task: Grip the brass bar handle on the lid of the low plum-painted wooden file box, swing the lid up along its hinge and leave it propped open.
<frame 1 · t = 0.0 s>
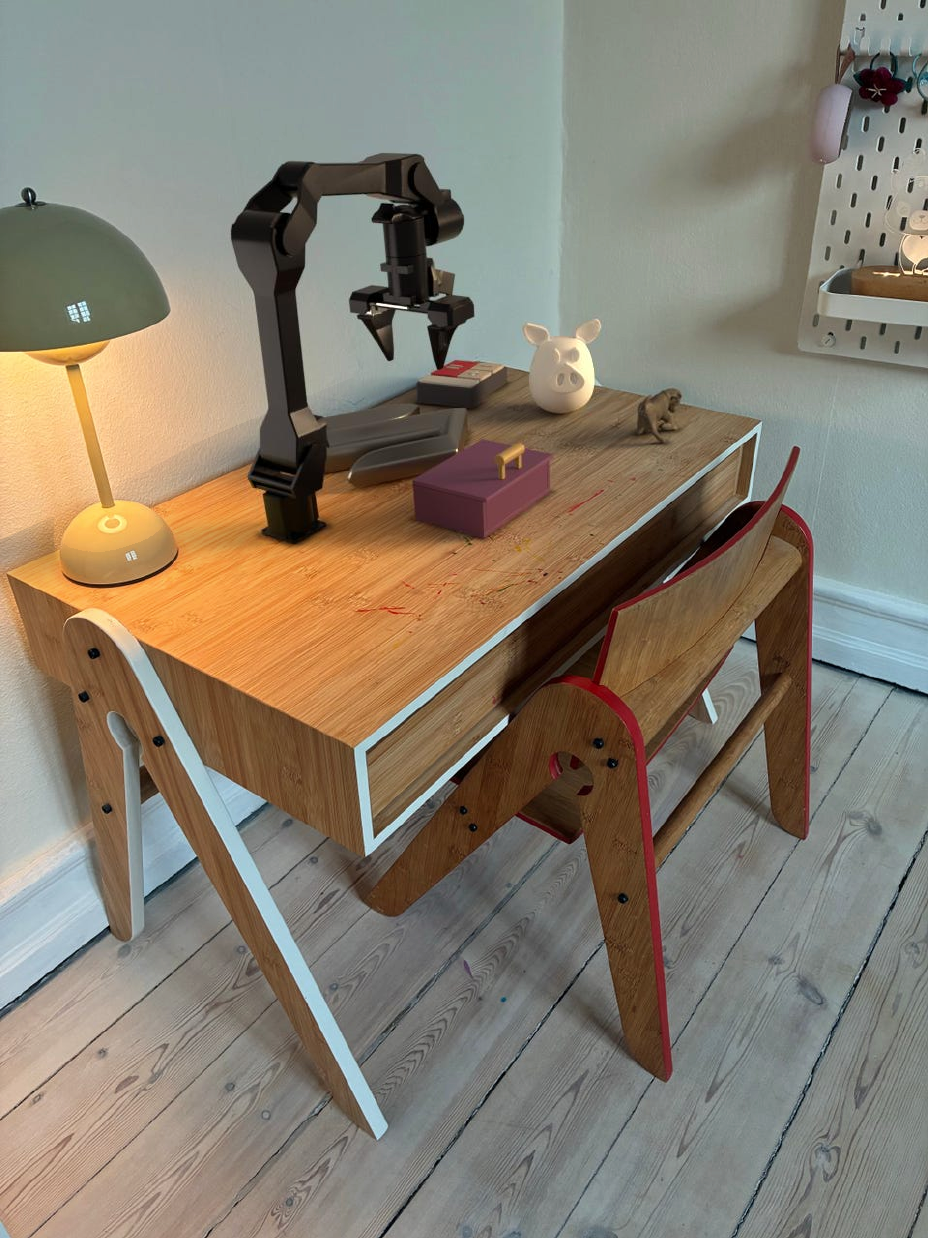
hand: (415, 364, 142), 15 cm above the table, tool pointing down, fingers open, 9 cm apart
brown monkey figurine: (658, 432, 154), on the table
emblem: (387, 455, 152), on the table
piggy bank: (564, 412, 164), on the table
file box: (484, 505, 134), on the table
file box lid: (483, 456, 130), point 7 cm above the table, hinge at 0.0°
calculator: (463, 393, 174), on the table
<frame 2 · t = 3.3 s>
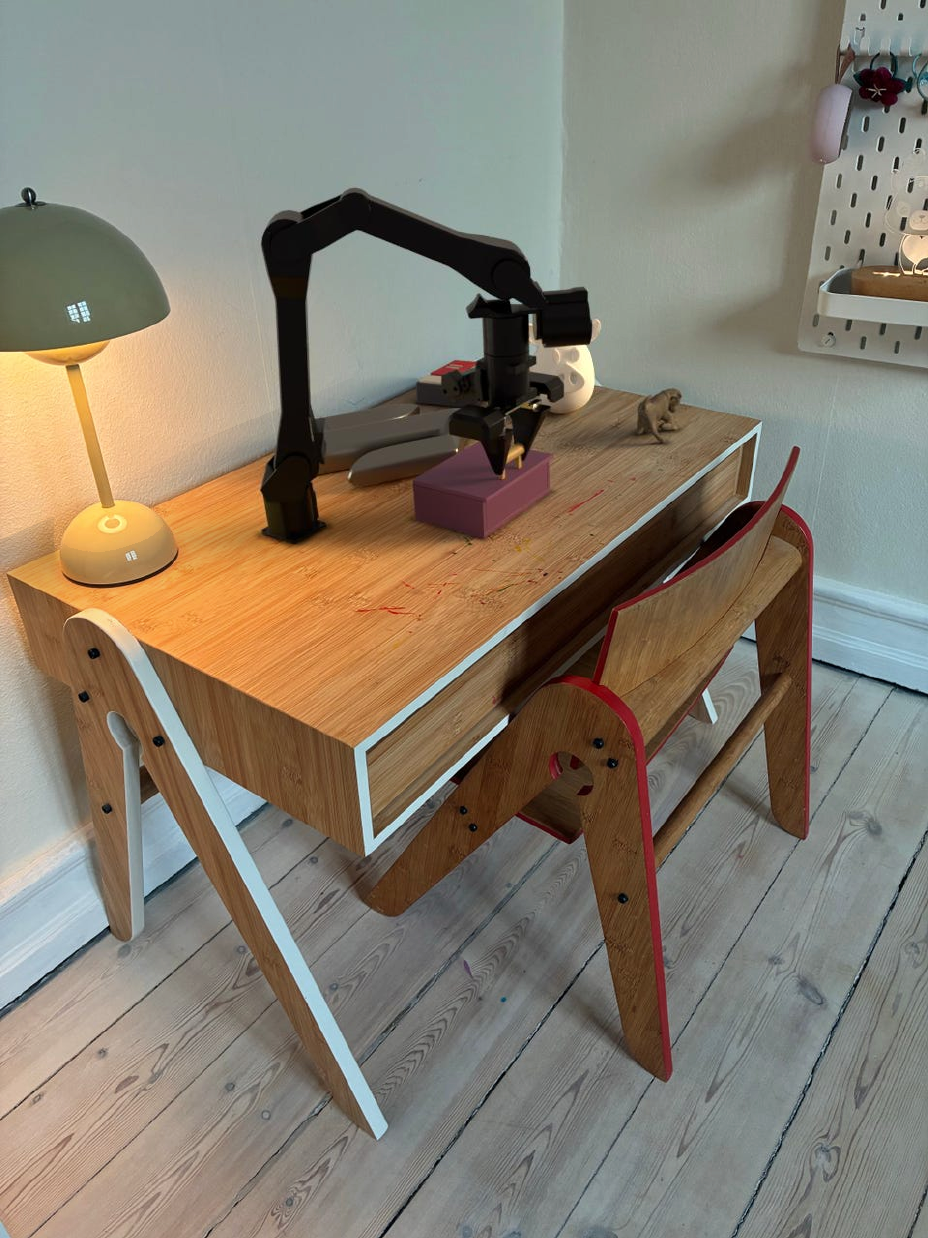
hand: (509, 467, 128), 7 cm above the table, tool pointing down, fingers closed on file box lid, 5 cm apart
file box lid: (483, 457, 130), point 7 cm above the table, hinge at 0.0°, touching gripper
everything else where it was.
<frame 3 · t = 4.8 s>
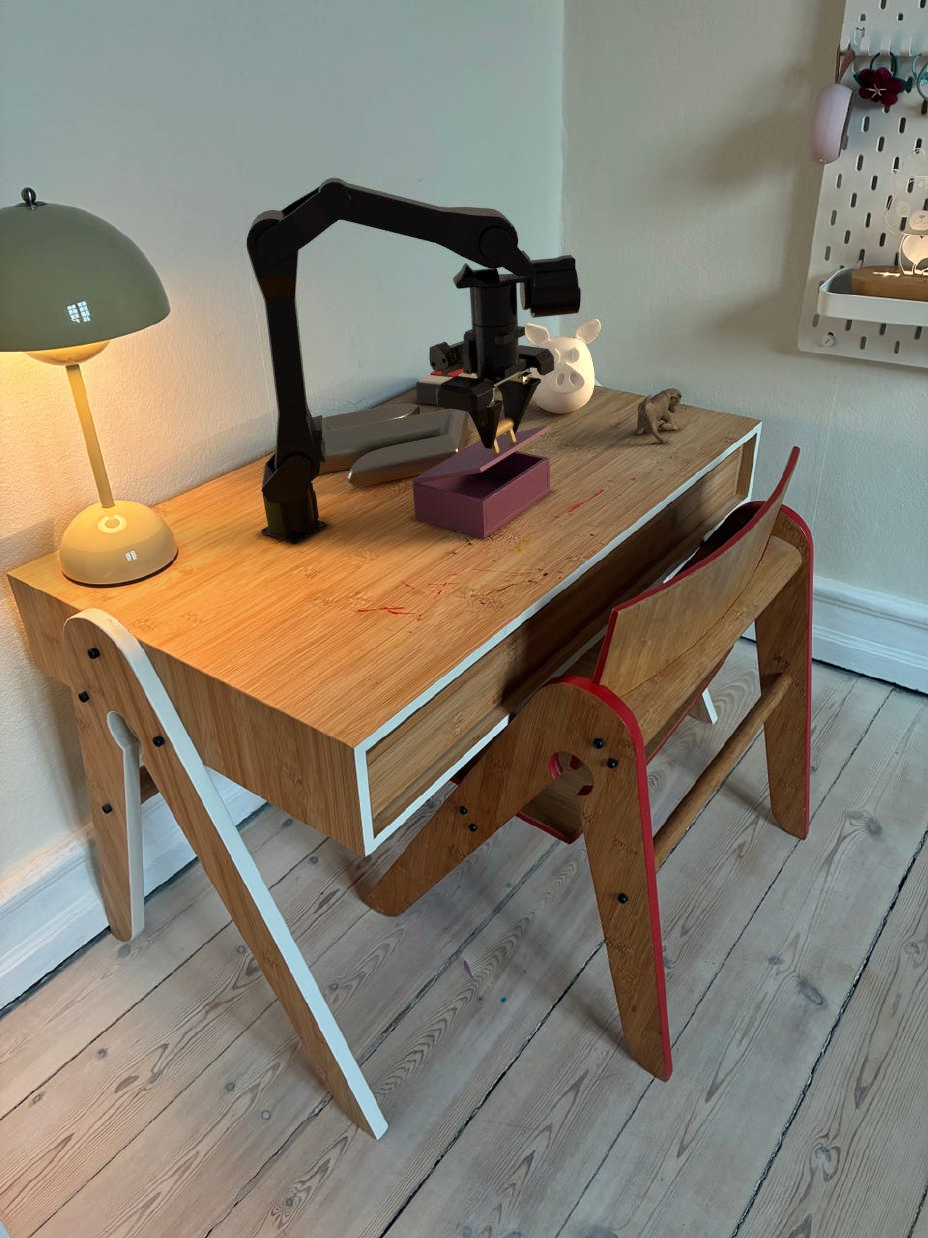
hand: (500, 441, 127), 10 cm above the table, tool pointing down, fingers closed on file box lid, 5 cm apart
file box lid: (477, 442, 129), point 9 cm above the table, hinge at 19.5°, touching gripper
everything else where it was.
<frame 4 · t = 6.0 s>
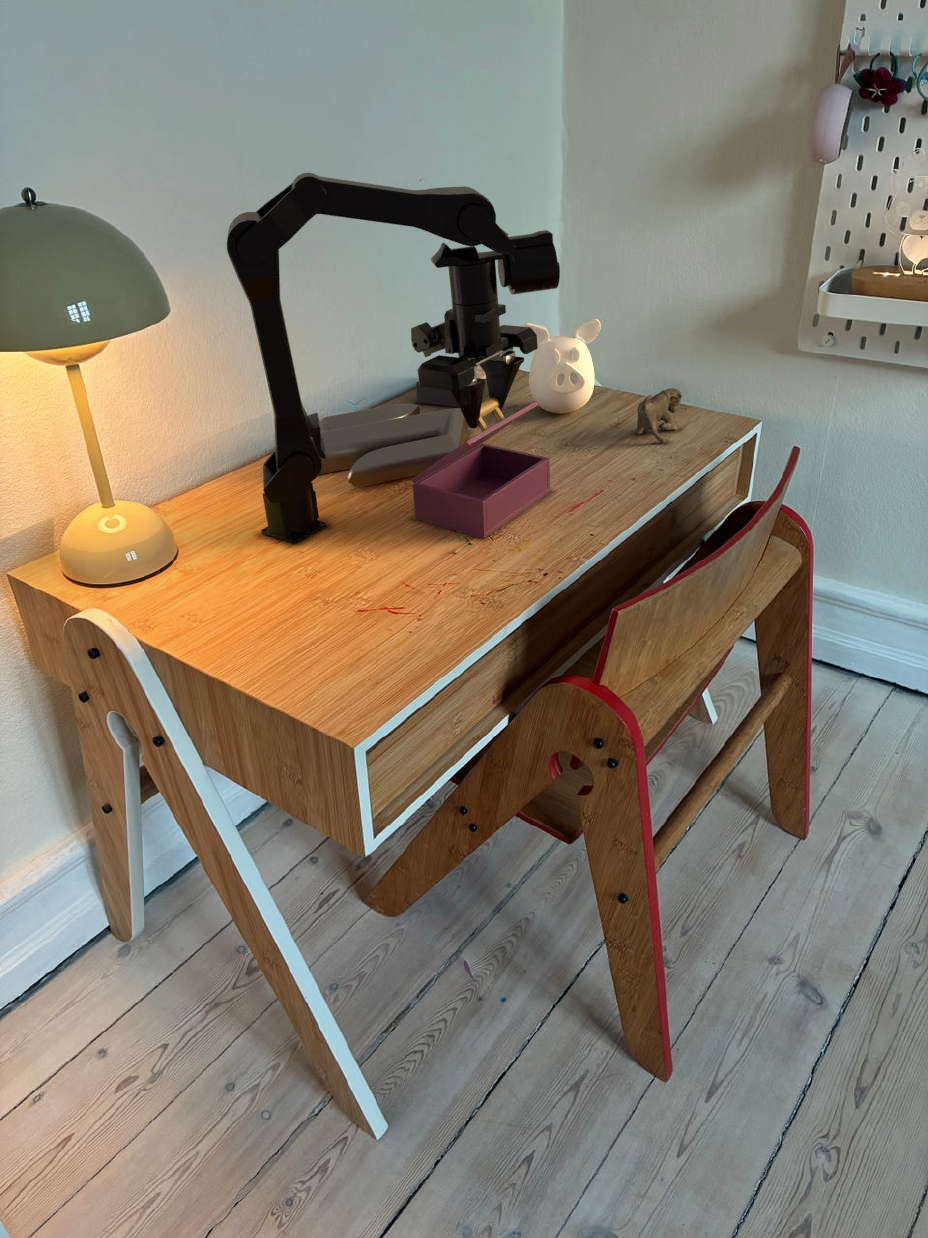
hand: (485, 420, 127), 12 cm above the table, tool pointing down, fingers closed on file box lid, 5 cm apart
file box lid: (468, 430, 129), point 11 cm above the table, hinge at 37.2°, touching gripper
everything else where it was.
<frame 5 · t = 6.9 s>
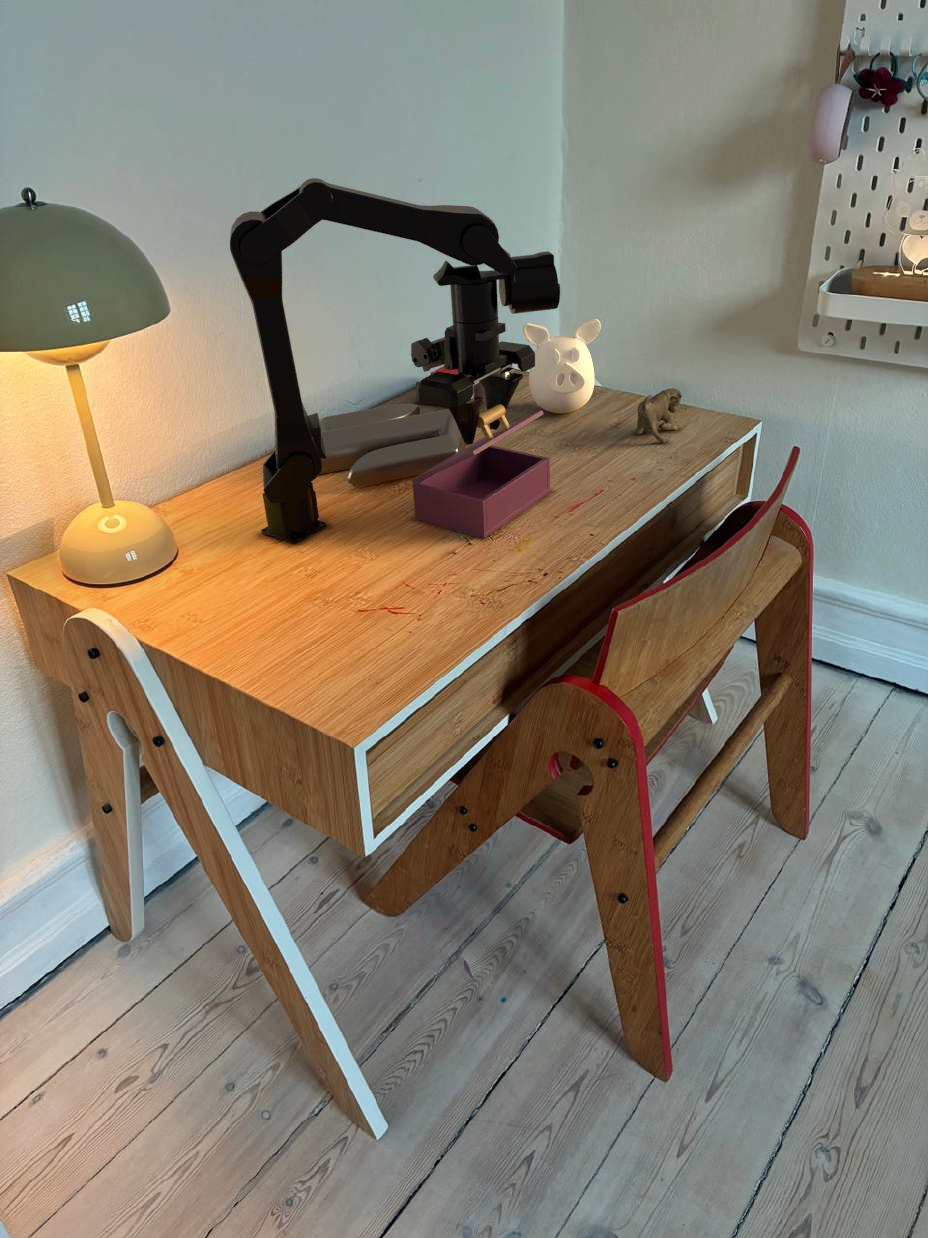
hand: (481, 436, 129), 10 cm above the table, tool pointing down, fingers open, 5 cm apart
file box lid: (472, 435, 129), point 10 cm above the table, hinge at 30.4°
everything else where it was.
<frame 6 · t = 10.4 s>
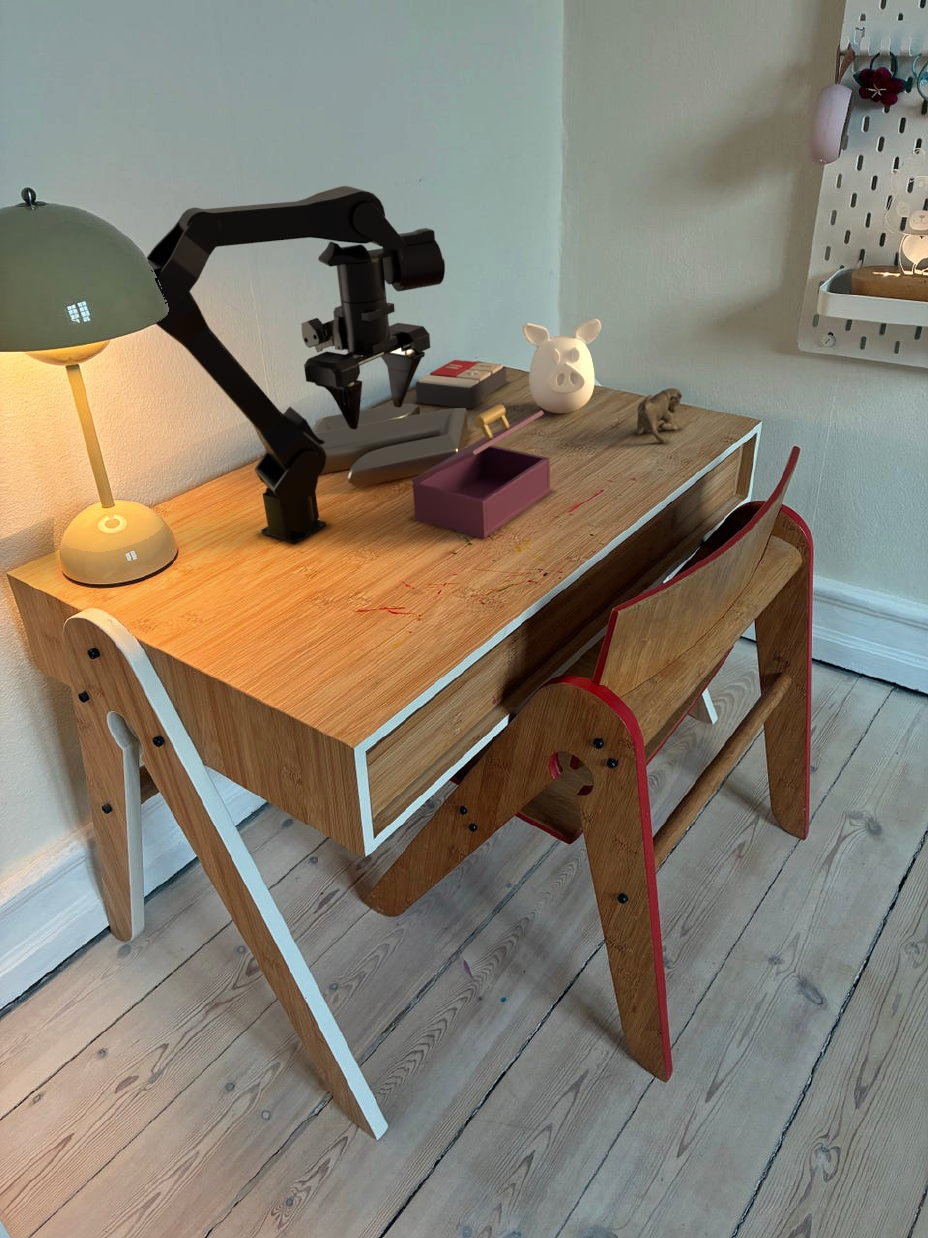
hand: (376, 417, 129), 13 cm above the table, tool pointing down, fingers open, 9 cm apart
nothing on the table moved.
at the end: file box lid at +30° (first picture: +0°) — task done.
